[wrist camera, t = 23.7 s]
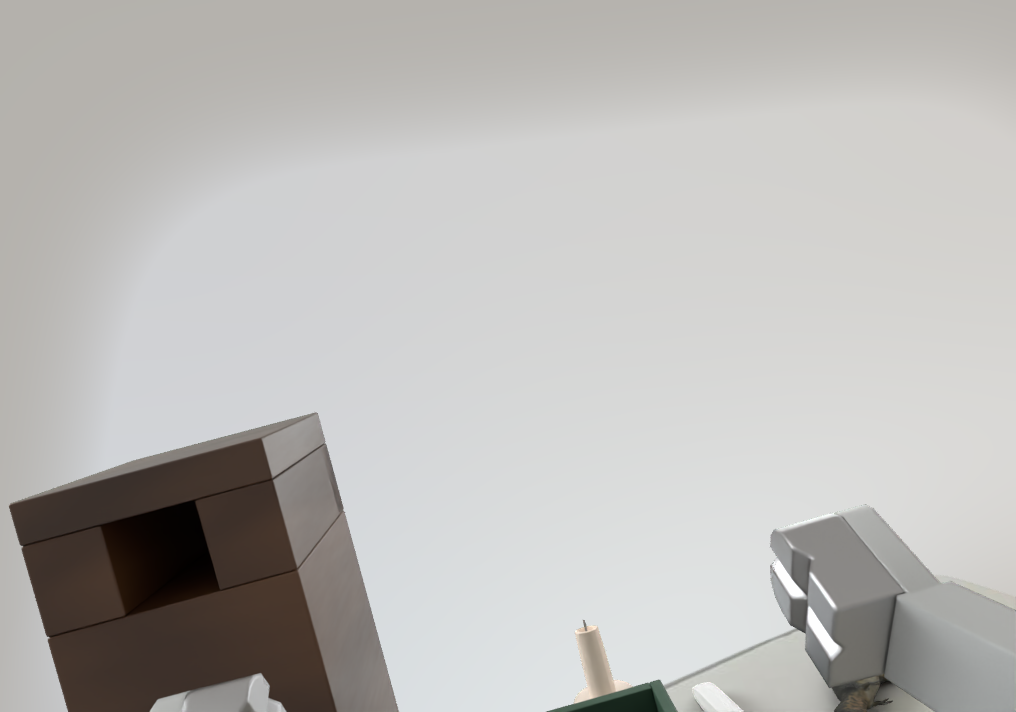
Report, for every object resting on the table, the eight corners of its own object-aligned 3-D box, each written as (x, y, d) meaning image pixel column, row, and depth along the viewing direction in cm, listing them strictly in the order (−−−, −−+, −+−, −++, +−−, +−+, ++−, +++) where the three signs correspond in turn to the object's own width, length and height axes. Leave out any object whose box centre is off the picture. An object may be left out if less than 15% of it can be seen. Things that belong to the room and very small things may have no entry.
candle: (583, 760, 47) (544, 611, 46) (660, 744, 46) (621, 594, 46) (586, 816, 42) (542, 648, 41) (672, 798, 41) (628, 629, 41)
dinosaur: (985, 754, 37) (852, 779, 40) (901, 606, 56) (814, 629, 59) (956, 689, 38) (825, 718, 40) (883, 564, 57) (797, 588, 59)
